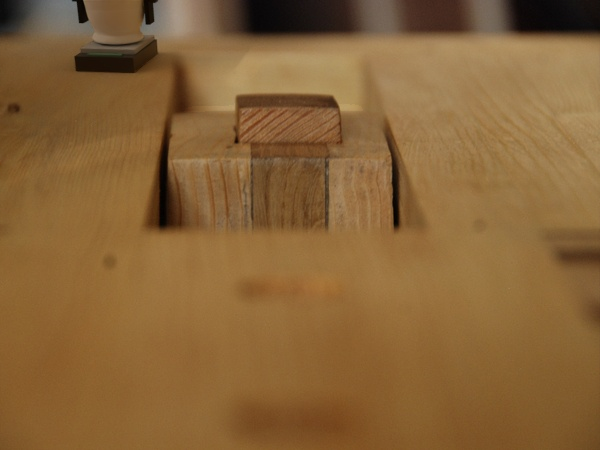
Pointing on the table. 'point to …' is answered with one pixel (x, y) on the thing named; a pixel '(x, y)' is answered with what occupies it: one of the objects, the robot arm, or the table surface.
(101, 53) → the scale
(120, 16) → the jar
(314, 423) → the table surface
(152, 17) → the robot arm
